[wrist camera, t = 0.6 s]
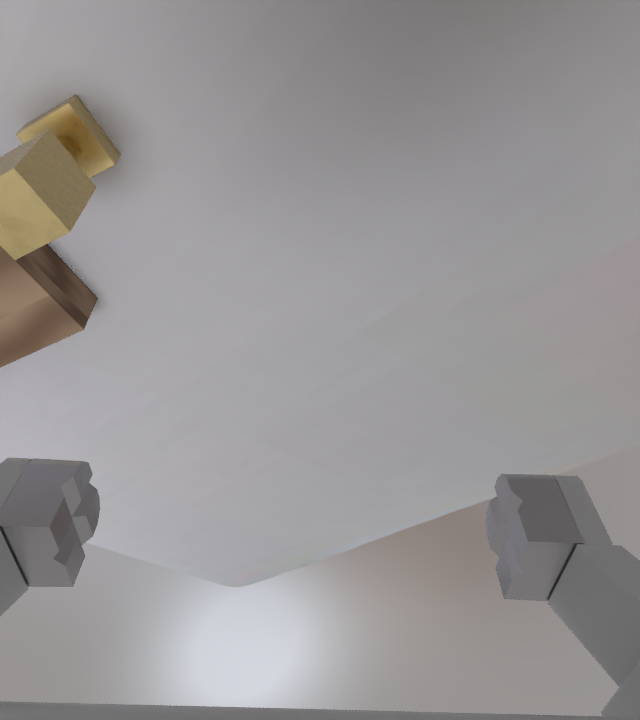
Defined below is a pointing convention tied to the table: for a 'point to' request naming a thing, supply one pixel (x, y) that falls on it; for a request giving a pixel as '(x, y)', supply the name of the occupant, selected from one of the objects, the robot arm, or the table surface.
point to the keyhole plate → (39, 303)
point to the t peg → (50, 176)
